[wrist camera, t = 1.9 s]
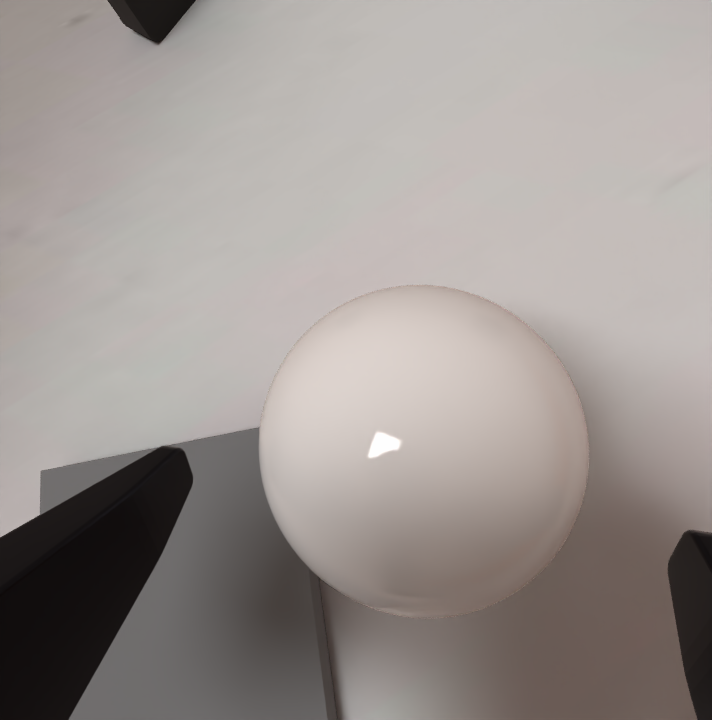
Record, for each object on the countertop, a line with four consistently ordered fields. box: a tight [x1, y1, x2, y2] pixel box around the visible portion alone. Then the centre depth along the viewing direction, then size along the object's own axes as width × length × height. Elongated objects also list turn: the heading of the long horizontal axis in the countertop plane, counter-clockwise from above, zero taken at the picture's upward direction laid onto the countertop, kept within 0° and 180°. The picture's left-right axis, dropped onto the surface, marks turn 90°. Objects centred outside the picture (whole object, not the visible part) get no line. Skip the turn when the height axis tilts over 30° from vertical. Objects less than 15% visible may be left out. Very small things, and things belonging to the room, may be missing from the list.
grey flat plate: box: [40, 427, 337, 720], centre depth 16 cm, size 18×11×1 cm, turn 10°
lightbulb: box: [258, 285, 589, 619], centre depth 12 cm, size 6×6×11 cm
